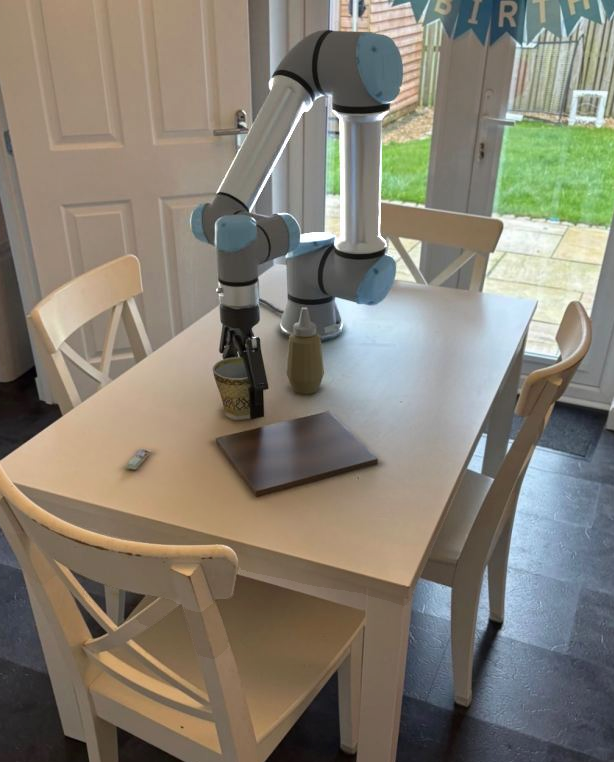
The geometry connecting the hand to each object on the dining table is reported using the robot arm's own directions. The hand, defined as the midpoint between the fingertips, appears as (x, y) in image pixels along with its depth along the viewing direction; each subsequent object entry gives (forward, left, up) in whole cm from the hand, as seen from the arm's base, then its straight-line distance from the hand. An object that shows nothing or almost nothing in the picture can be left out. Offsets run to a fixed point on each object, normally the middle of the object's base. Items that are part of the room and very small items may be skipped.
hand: (244, 403), depth 159 cm
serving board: (+20, +2, -1) cm, 20 cm away
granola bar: (+10, -25, -2) cm, 27 cm away
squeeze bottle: (-3, +15, -2) cm, 15 cm away
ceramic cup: (0, 0, -2) cm, 2 cm away
